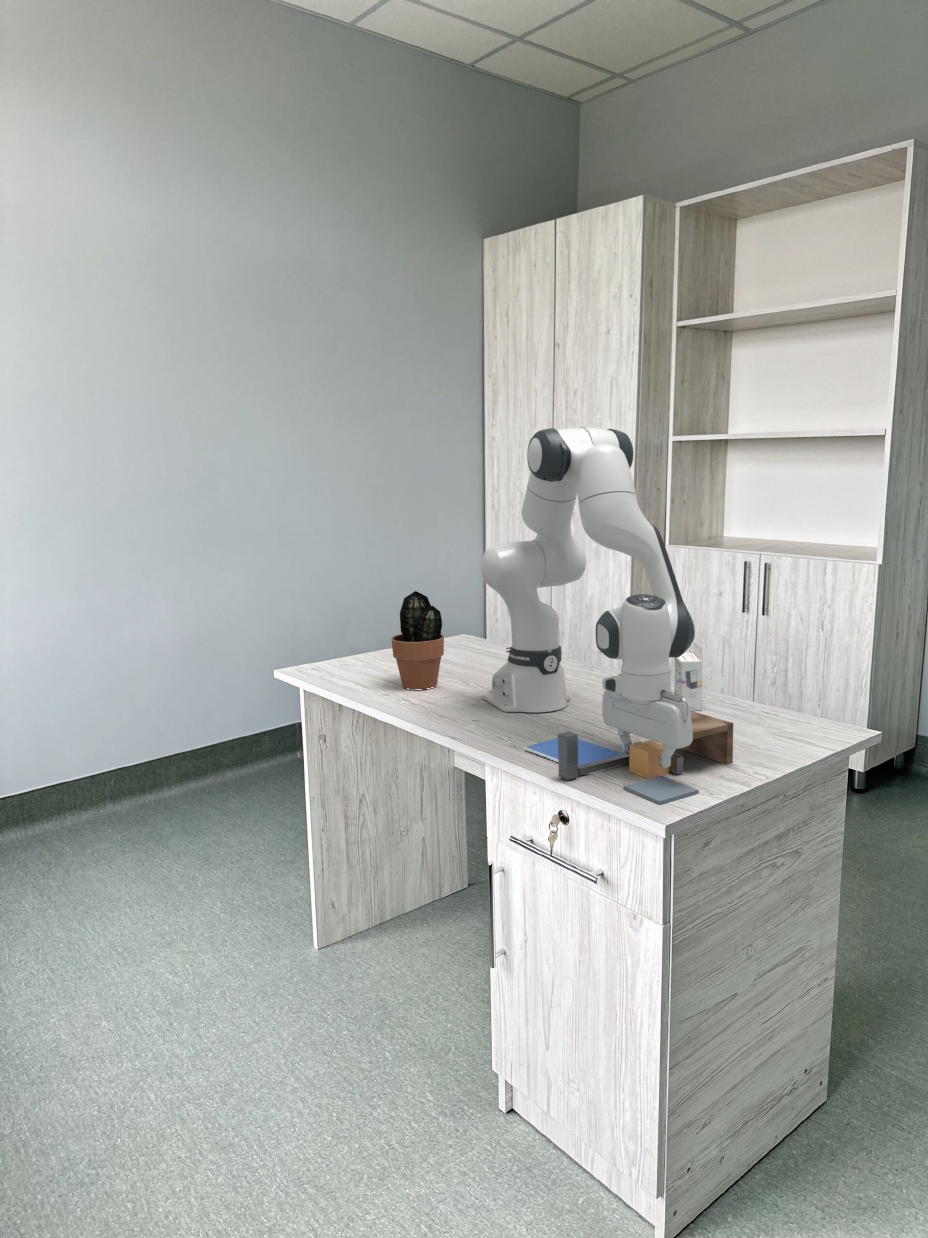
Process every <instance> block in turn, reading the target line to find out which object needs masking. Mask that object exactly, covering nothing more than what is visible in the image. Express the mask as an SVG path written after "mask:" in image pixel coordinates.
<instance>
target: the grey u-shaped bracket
mask: <svg viewBox="0 0 928 1238" xmlns="http://www.w3.org/2000/svg"><path fill="white" fill-rule="evenodd" d="M578 735H579V734H578V733H575V732H572V731H570V730H568V731H565V732H561V733H557V738H558V762H559V763H558V777H559V778H561V779H564V780H566V781H570V780H573V779H576V778H579V776H584V775H589V774H588V773H592V772H596V771H600V770H603V769H607V768H611V767H614V768H616V767H615V766H618V767H620V766H619V765H621V766H623V764H624V765H627V763H628V764H629V754H626V753H623V755H619V756H615V757H611V758H607V759H603V760H599V761H595V762H591V763H587V764H583V765H579V766H578V738H579V736H578ZM641 742H642V741H636V742H634V744H637V743H641ZM611 769H612V768H611ZM669 773H673V774H675V775H678V774H682V773H684V756H683V755H679V754H677V753H675V752H674V753H673V755H672V757H671V765H670V767H669Z"/></svg>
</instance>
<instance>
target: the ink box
mask: <svg viewBox="0 0 928 1238" xmlns="http://www.w3.org/2000/svg"><path fill="white" fill-rule="evenodd" d="M673 685H674V686H673V687H674V688H673V690H674V691H673V694H679V695H681V696H683V699H685V700H686V702H687V703H688V704H689V710H690V711H694V712H697V711H702V710H703V647H702V645H700V644H699V643H698V642H696V641H695V640H693V652H692V653H691V652H690V653H689V652H685V653H684V654H682V655H681V656H680V657H677V658H674V684H673ZM682 702H683V701H682Z"/></svg>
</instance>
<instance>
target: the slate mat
mask: <svg viewBox="0 0 928 1238" xmlns="http://www.w3.org/2000/svg"><path fill="white" fill-rule="evenodd" d="M622 787H623V788H622V789H623V790H625V791H627V792H629V793H631V794H634V795H636V796H638V797H641V798H643V799H646V800H648V801H650V802H652V803H655V804H658V805H660V806H661V805H663V804H666V803H670V802H673V801H677V800H680V799H683V798H687V797H690V796H695V795H697V794H699V793H700V790H699V789H698V788H696V787H693V786H690V785H688V784H685V783H682V782H679V781H678V780H675V779H672V778H670V777H667V776H665V775H659V776H655V777H652V778H646V779H644V780H639V781H636V782H632V783H629V784H626V785H623V786H622Z"/></svg>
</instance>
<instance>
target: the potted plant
mask: <svg viewBox="0 0 928 1238" xmlns="http://www.w3.org/2000/svg"><path fill="white" fill-rule="evenodd" d="M428 597H429V596H427V595H424V594H422V593H421V592H418V591H417V590H414V591H413V592H412V593H410V594H408V595H407V596H405V597H404V598H403V601H402V605H401V608H400V611H399V622H400V623H399V625H400V626H399V627H400V634H397V635H394V636H391V647H392V649H391V650H392V656H393V658H394V659H395V661H396V665H397V668H398V671H399V677H400V681H401V685H402V688H403V687H405V688H409V689H427V688H431V687H434V686H436V685H437V686H438V679H439V673H440V668H441V667H440V666H441V661H442V657H443V656H444V654H445V653H444V652H445V651H444V650H445V647H444V646H445V645H444V644H445V635H443V634H442V630H443V629H442V627H443V620H442V619H443V618H442V614H441V611H440V610H439V609H437V608H436V607H435V606H434V605H431V601H430V600H429V598H428ZM437 686H436V687H437ZM405 688H404V689H405ZM434 688H435V687H434Z"/></svg>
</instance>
